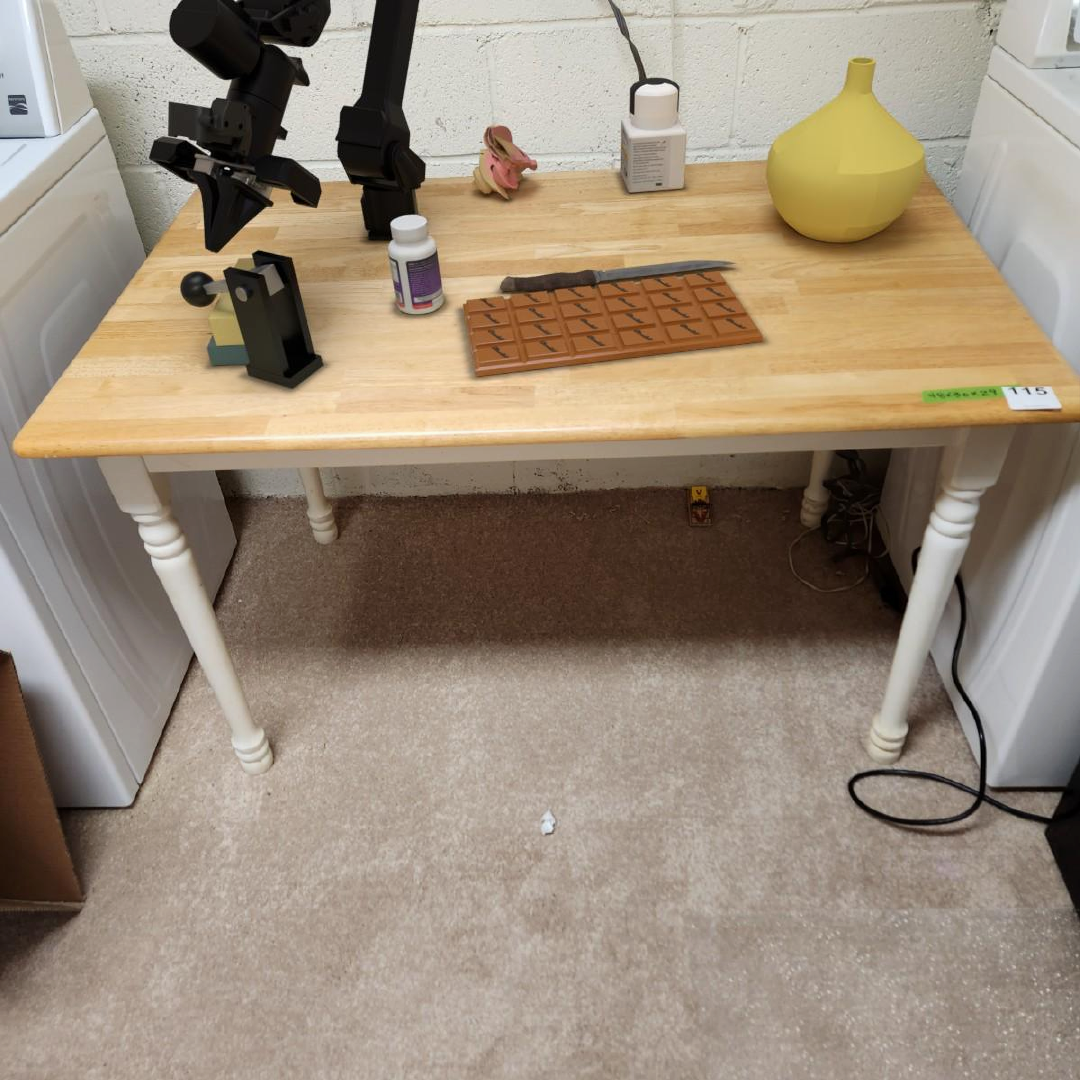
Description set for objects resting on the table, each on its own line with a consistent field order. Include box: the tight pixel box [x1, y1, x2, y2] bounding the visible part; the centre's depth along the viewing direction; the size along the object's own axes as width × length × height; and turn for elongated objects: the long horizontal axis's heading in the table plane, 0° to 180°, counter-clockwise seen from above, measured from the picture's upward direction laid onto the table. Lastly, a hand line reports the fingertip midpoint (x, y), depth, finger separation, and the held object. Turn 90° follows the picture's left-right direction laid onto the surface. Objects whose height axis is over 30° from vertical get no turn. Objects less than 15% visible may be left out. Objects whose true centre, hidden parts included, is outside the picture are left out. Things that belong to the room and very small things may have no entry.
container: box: [620, 77, 688, 194], centre depth 125 cm, size 8×8×13 cm
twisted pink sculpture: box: [471, 124, 539, 200], centre depth 128 cm, size 9×10×10 cm
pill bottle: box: [387, 214, 445, 315], centre depth 102 cm, size 5×5×10 cm
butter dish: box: [206, 334, 250, 367], centre depth 102 cm, size 5×14×2 cm, turn 1°
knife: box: [500, 259, 738, 292], centre depth 108 cm, size 28×3×1 cm, turn 99°
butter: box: [207, 257, 255, 346], centre depth 100 cm, size 14×3×3 cm, turn 1°
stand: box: [222, 249, 324, 389], centre depth 92 cm, size 6×6×12 cm
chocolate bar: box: [462, 270, 763, 377], centre depth 100 cm, size 14×30×1 cm, turn 99°
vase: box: [765, 56, 927, 243], centre depth 109 cm, size 18×18×19 cm
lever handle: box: [179, 264, 284, 308], centre depth 92 cm, size 13×4×4 cm, turn 61°
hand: (211, 251), depth 95 cm, fingers closed
